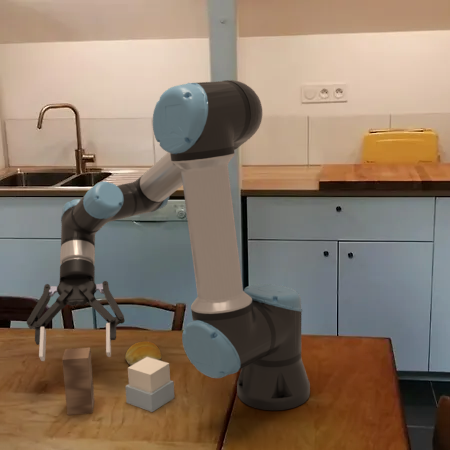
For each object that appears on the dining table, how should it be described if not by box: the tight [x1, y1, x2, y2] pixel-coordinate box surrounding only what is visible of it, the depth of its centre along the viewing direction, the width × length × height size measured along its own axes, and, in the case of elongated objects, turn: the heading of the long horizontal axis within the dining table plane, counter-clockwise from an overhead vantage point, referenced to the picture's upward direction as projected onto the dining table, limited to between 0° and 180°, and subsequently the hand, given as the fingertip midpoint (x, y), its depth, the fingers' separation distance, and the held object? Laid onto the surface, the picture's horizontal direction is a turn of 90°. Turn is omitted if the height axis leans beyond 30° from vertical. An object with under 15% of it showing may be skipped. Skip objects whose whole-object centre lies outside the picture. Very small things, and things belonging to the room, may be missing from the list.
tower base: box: [124, 379, 175, 413], centre depth 145 cm, size 7×7×4 cm
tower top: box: [127, 357, 171, 393], centre depth 144 cm, size 6×6×4 cm
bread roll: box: [125, 340, 162, 366], centre depth 164 cm, size 8×9×4 cm
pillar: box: [61, 347, 95, 416], centre depth 142 cm, size 5×5×12 cm
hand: (75, 356), depth 145 cm, fingers open, 13 cm apart
